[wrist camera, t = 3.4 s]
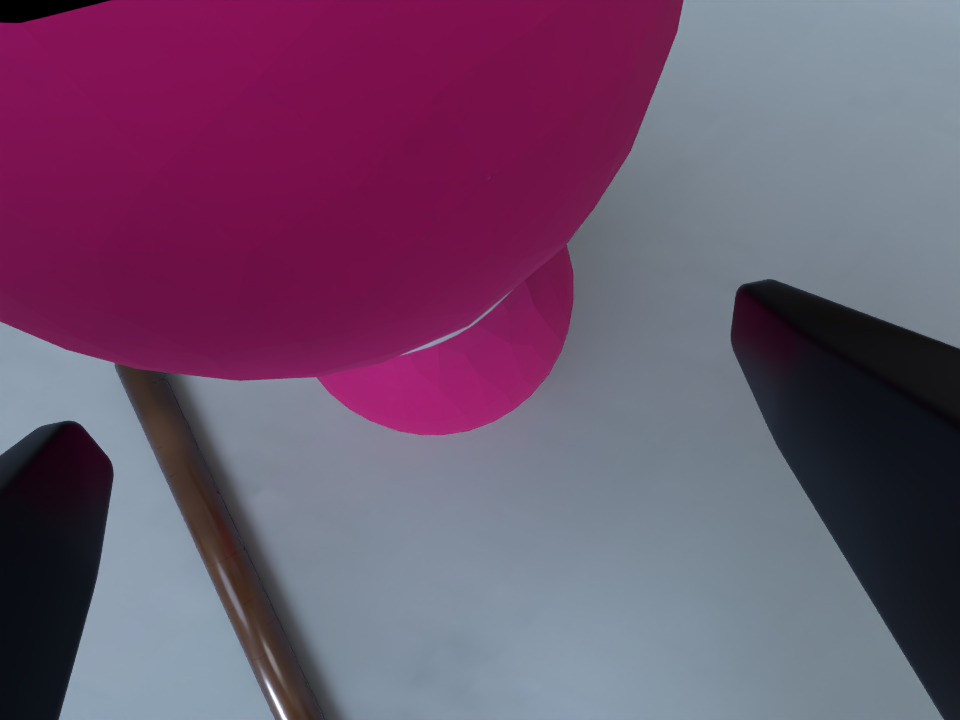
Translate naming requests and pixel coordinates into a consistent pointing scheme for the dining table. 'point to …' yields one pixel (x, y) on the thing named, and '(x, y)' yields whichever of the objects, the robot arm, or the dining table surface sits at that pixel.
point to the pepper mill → (317, 186)
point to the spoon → (219, 546)
